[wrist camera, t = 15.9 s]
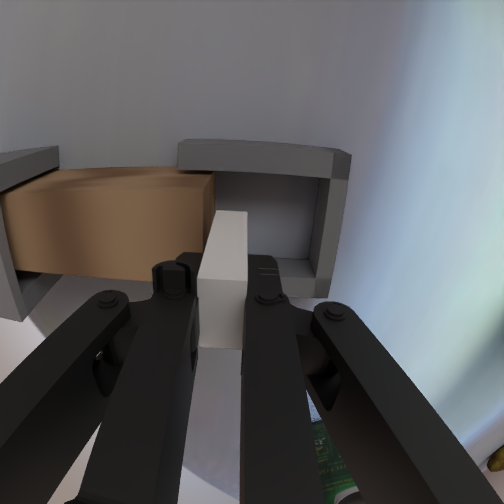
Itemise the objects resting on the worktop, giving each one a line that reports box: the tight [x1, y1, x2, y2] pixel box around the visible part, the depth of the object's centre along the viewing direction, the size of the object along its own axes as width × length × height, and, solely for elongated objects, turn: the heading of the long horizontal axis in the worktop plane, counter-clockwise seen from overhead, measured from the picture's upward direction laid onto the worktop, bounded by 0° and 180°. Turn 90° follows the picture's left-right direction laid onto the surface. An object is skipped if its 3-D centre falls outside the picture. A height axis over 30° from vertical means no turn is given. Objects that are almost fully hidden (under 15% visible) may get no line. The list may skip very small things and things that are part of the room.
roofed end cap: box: [0, 146, 63, 322], centre depth 16 cm, size 6×9×7 cm
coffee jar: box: [312, 420, 366, 504], centre depth 22 cm, size 10×8×19 cm
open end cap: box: [178, 139, 352, 298], centre depth 18 cm, size 9×9×2 cm
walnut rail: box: [0, 167, 216, 282], centre depth 16 cm, size 14×4×6 cm, turn 87°
